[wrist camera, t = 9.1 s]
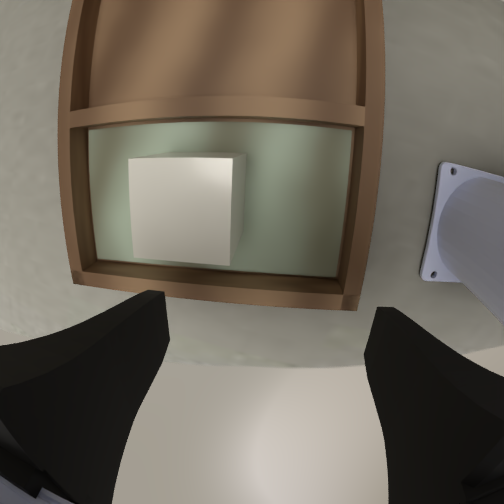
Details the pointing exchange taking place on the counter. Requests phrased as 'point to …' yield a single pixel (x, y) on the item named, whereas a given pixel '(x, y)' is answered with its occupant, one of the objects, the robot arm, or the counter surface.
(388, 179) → the counter surface
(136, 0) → the sorting tray
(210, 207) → the stone block
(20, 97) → the counter surface
